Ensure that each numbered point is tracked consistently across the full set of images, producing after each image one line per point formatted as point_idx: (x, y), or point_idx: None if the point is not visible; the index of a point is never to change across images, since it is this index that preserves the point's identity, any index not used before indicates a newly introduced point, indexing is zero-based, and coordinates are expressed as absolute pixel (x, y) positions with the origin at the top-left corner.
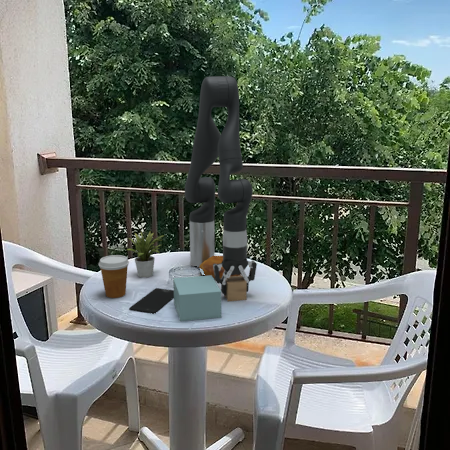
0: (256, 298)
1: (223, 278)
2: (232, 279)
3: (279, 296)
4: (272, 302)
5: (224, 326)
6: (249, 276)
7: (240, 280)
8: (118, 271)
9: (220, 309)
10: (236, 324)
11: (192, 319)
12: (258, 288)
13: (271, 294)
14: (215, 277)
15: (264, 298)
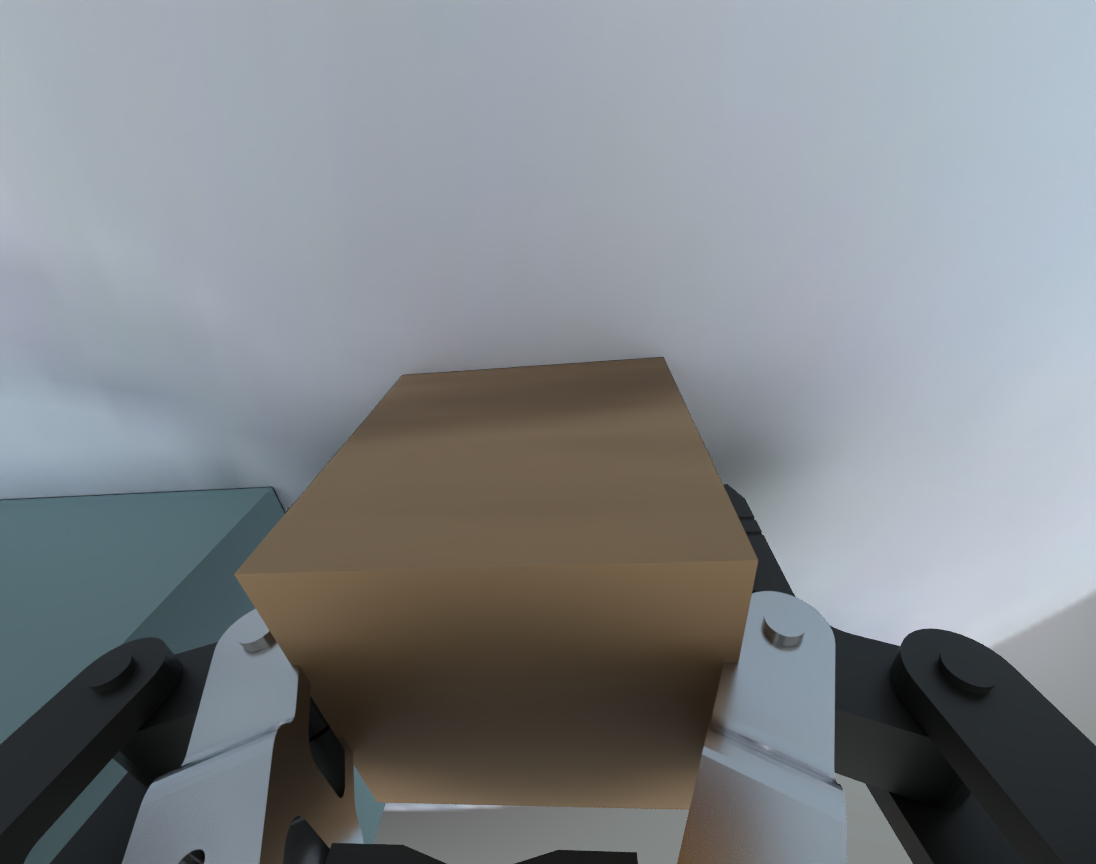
0: (782, 538)
1: (253, 708)
2: (463, 708)
3: (1086, 531)
4: (890, 634)
5: (424, 808)
6: (892, 759)
7: (619, 760)
8: None
9: (374, 817)
10: (493, 805)
11: None
12: (1037, 193)
13: (1042, 465)
14: (46, 751)
15: (871, 551)
